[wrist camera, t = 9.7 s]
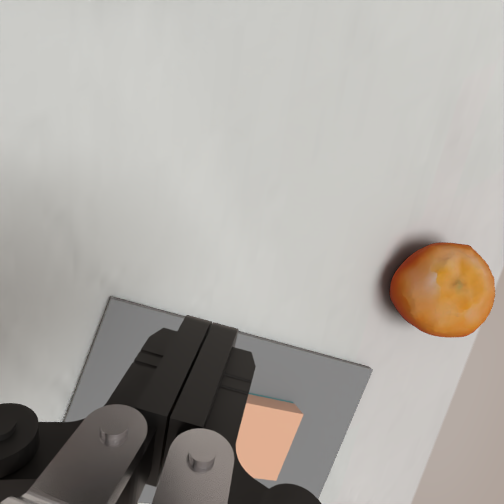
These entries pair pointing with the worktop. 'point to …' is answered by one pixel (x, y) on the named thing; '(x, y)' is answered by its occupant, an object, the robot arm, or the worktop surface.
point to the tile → (266, 435)
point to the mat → (263, 383)
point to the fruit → (444, 290)
